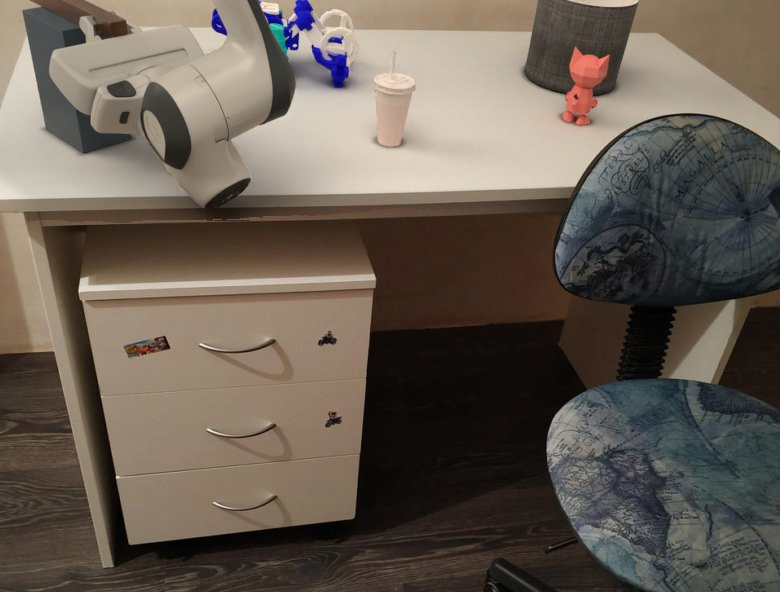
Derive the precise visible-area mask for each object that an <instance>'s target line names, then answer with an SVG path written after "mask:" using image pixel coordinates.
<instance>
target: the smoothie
mask: <svg viewBox="0 0 780 592" xmlns="http://www.w3.org/2000/svg"><path fill="white" fill-rule="evenodd" d="M396 53H397V51H396V50H395V49H393V50H391V59H390V70H389V72H384V73H380V74H377V75H375V77H374V78H373V83H372V85H373V88H374V89H375V108H376V110H375V111H376V134H377V135H376V137H377V143H378V144H379V145H382V146H384V147H389V148H390V147H394V148H395V147H398V146H401V144H402V141H403V140H402V139H403V135H404V130H405V127H406V121H407V119H408V118H407V117H408V113H409V110H410V109H409V108H410V105H411V101H412V96H413V93H414V92H415V91H416V81H415V79H414V78H412V77H411V76H409V75H406V74H403V73H397V72H395V65H396V64H395V63H396Z"/></svg>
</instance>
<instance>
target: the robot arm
mask: <svg viewBox="0 0 780 592" xmlns="http://www.w3.org/2000/svg"><path fill="white" fill-rule="evenodd" d="M211 2H212V3H213V5H214V9H215V8H216V10H217V12H218V14H219V16H220V18H221V20H222V22H223V24H224V26H225V28H226V30H227V36H226V39H225V41H224V42H223V43H222V45H220V47H218V48H217V49H214V50H213V51H210V52H208V53H206V54H205V53H204V51H203V49H202V46H201V45H200V43H199V42H198V39H197V38H196V36H195V35H194V33H193V32H192V31H191V29H190V28H189V27H188V26H187V27H186V26H185V25H183V24H181V23H178V24H172V25H168V26H163V27H159V28H153V29H149V30H144V31H143V30H142V29H141V27H139V26H138V25H136V24H135V23H133V22H131V21H129V20H128V19H125V17H123V15H122V14H121V13H120V12H119V10H118V9H117V10H116V9H115V10H111V11H109V12H110V13H113V14H115V15H117V16H119V17H121V18H123V19H125V20H126V22H127V30H128V35H124V36H119V37H114V38H109V39H104V40H102V39H101V38H100V37H99V36H98V35H97V36H94V35H96V33H97V30H96V29H97V28H98V23H97V22H96V20H94V18H93V16H92V15H90V16H84V17H80V22H79V26H80V28H81V30H82V31H83V32H84V34H85V35H86V43H85V44H80V45H75V46H71V47H66V48H61V49H56V50H54V51H53V53H52V56H51V60H50V66H49V73H50V77H51V79H52V80H53V82H54V83H55V84H56V86H57V87H58V88H59V90H60V91H61V92H62V93H63V95H64V96H65V97H66V98H67V99H68V100H69V102H70V103H71V104H72V105H73V106H74V107H75V108H76V109H77V110H79V111H80V112H82V113H84V114H87V115H91V125H92V127H93V128H94V129H95V130H96V131H97V132H99V133H123V134H131V135H135V136H142V137H143V139H144V140H145V142H147V143H148V144H149V146H150V147H151V148H152V149H153V151H154V153H155V154H156V155H157V156H158V158H159V159H160V161H161V163H162V164H163V166H164V168H165V169H166V170H167V171H168V174H170V175H171V177H172V178H173V179H174V180H175V181H176V182H177V184H178V186H180V187H181V189H182V190H183V191H184V192H185V193H186V194H187V195H188V196H189V198H191V199H192V201H194V202H195V203H196V204H197V205H199V207H201V208H202V209H204V210H213V209H217V208H220V207H221V206H224V205H225V204H227V203H229V202H231V201H233V200H234V199H236V198H237V197H238V196H240V195H241V194H243V192H245V190H246V189H247V188H248V187H249V186H250V183H251V182H252V175H251V172H250V171H249V168H248V167H247V165H246V162H244V159H243V157H242V155H241V154H240V153H239V151H238V150H237V148H236V146H235V145H234V143H233V142H232V140H233V139H236V138H238V137H239V136H241V135H243V134H245V133H247V132H249V131H251V130H253V129H254V128H256V127H258V126H262V125H265V124H268V123H270V122H273V121H274V120H277V119H280V118H282V117H284V116H286V115H287V114H288V112H289V110H290V108H291V105H292V102H293V100H294V96H295V91H296V87H297V80H296V77H295V74H294V70H293V68H292V65H291V62H290V60H289V61H288V59H287V57H286V55H285V54H284V52H283V50H282V48H281V47H280V45H279V43H278V41H277V40H276V38H275V36H274V34H273V32H272V30H271V28H270V26H269V24H268V22H267V19H266V17H265V15H264V12H263V10H262V8H261V6H260V3H259V1H258V0H211Z"/></svg>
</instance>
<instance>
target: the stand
mask: <svg viewBox="0 0 780 592" xmlns="http://www.w3.org/2000/svg"><path fill="white" fill-rule="evenodd" d="M21 12H22V16H23V22H24V26H25V32H26V36H27V41H28V46H29V51H30V56H31V62H32V66H33V71H34V75H35V81H36V87H37V92H38V95H39V101H40V106H41V111H42V117H43V121H44V126H45V130H47V131H48V132H50V133H51V134H53V135H54V136H56V137H57V138H59V139H61V140H62V141H64V142H65V143H66V144H68V145H70V146H72V147H73V148H75V149H76V150H78V151H79V152H81V153H83V154H85V153H88V152H91V151H96V150H98V149H102V148H105V147H109V146H112V145H116V144H119V143H122V142H126V141H128V140H129V141H130V140H132V134H123V133H99V132H97V131H96V130H95V129H94V128H93V127H92V125H91V115H87V114H84V113H82V112H80V111H79V110H77V109H76V108H75V107H74V106H73V105H72V104H71V103H70V102H69V100H68V99H67V98H66V97H65V96H64V95H63V93H62V92H61V91H60V90H59V88H58V87H57V86H56V84H55V83H54V82H53V80H52V79H51V77H50V73H49V66H50V60H51V56H52V53H53V51H54V50H56V49H61V48H66V47H71V46H75V45H80V44H85V43H86V35H85V34H84V32H83V31H82V30H81V28H80V26H79V25H77V24H75V23H73V22H71V21H69V20H67V19H65V18H63V17H61V16H59V15H57V14H55V13H53V12H51V11H49V10H47V9H45V8H43V7H41V6H37V7H32V8H31V7H30V8H26V9H22V10H21ZM94 36H97V35H94ZM99 37H100V36H99ZM100 38H101V39H102V40H104V38H102V37H100Z"/></svg>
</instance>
